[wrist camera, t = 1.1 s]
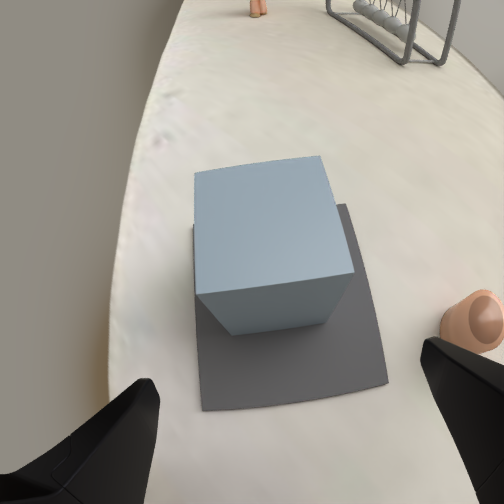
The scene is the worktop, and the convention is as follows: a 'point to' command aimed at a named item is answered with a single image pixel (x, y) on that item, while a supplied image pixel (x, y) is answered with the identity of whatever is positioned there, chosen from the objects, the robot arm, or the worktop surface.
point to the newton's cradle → (398, 28)
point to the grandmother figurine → (258, 8)
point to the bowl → (475, 322)
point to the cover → (269, 245)
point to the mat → (294, 351)
